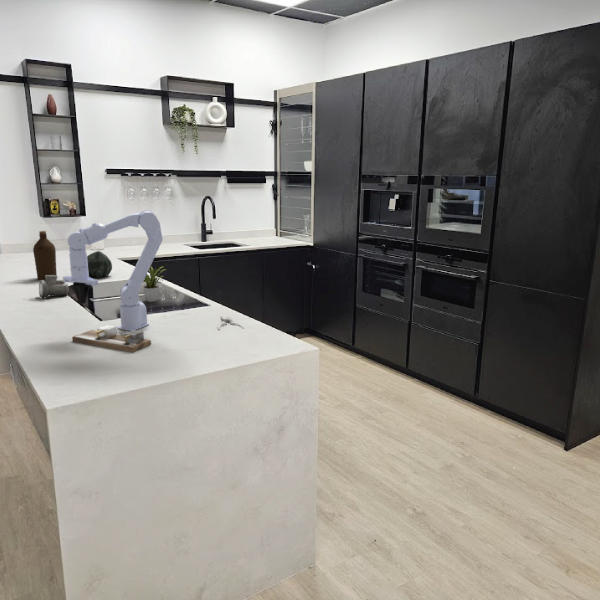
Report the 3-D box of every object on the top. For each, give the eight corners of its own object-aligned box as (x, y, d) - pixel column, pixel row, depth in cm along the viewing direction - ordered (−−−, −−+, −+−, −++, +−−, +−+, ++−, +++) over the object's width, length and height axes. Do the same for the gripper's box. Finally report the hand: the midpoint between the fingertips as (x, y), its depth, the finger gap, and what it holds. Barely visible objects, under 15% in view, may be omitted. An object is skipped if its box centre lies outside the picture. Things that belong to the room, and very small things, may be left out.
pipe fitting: (41, 298, 234) (41, 276, 233) (37, 296, 240) (38, 274, 239) (69, 298, 241) (70, 276, 240) (65, 296, 247) (66, 275, 246)
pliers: (218, 327, 195) (212, 316, 208) (218, 331, 195) (212, 320, 209) (244, 325, 197) (237, 314, 211) (244, 329, 198) (237, 318, 212)
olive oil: (60, 278, 279) (55, 231, 273) (38, 280, 272) (33, 232, 266) (55, 275, 287) (51, 229, 281) (34, 277, 281) (29, 230, 275)
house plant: (175, 297, 243) (173, 262, 240) (165, 304, 230) (163, 267, 226) (145, 295, 245) (143, 261, 241) (133, 303, 231) (131, 266, 228)
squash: (88, 263, 294) (82, 246, 282) (115, 264, 296) (111, 247, 283) (83, 283, 286) (77, 266, 274) (111, 284, 288) (106, 268, 275)
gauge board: (92, 333, 188) (91, 321, 187) (150, 344, 178) (150, 331, 177) (72, 341, 180) (71, 328, 179) (132, 352, 170) (132, 339, 169)
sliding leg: (107, 333, 183) (106, 325, 183) (116, 334, 182) (115, 326, 181) (92, 339, 177) (91, 330, 176) (101, 340, 176) (100, 332, 175)
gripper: (54, 266, 184) (58, 303, 188) (86, 269, 179) (89, 308, 182) (70, 263, 191) (73, 299, 194) (101, 266, 185) (104, 303, 188)
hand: (82, 303), depth 188 cm, fingers closed
